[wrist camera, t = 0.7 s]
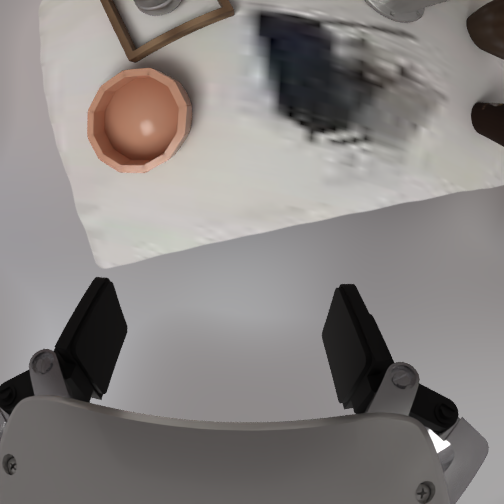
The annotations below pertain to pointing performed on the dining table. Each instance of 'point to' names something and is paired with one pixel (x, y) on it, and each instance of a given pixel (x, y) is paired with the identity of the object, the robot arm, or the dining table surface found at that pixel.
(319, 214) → the dining table surface
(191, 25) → the brown picture frame
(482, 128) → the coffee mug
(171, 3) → the grey metal bulbous cylinder
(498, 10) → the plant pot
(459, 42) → the dining table surface
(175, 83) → the terracotta bowl
